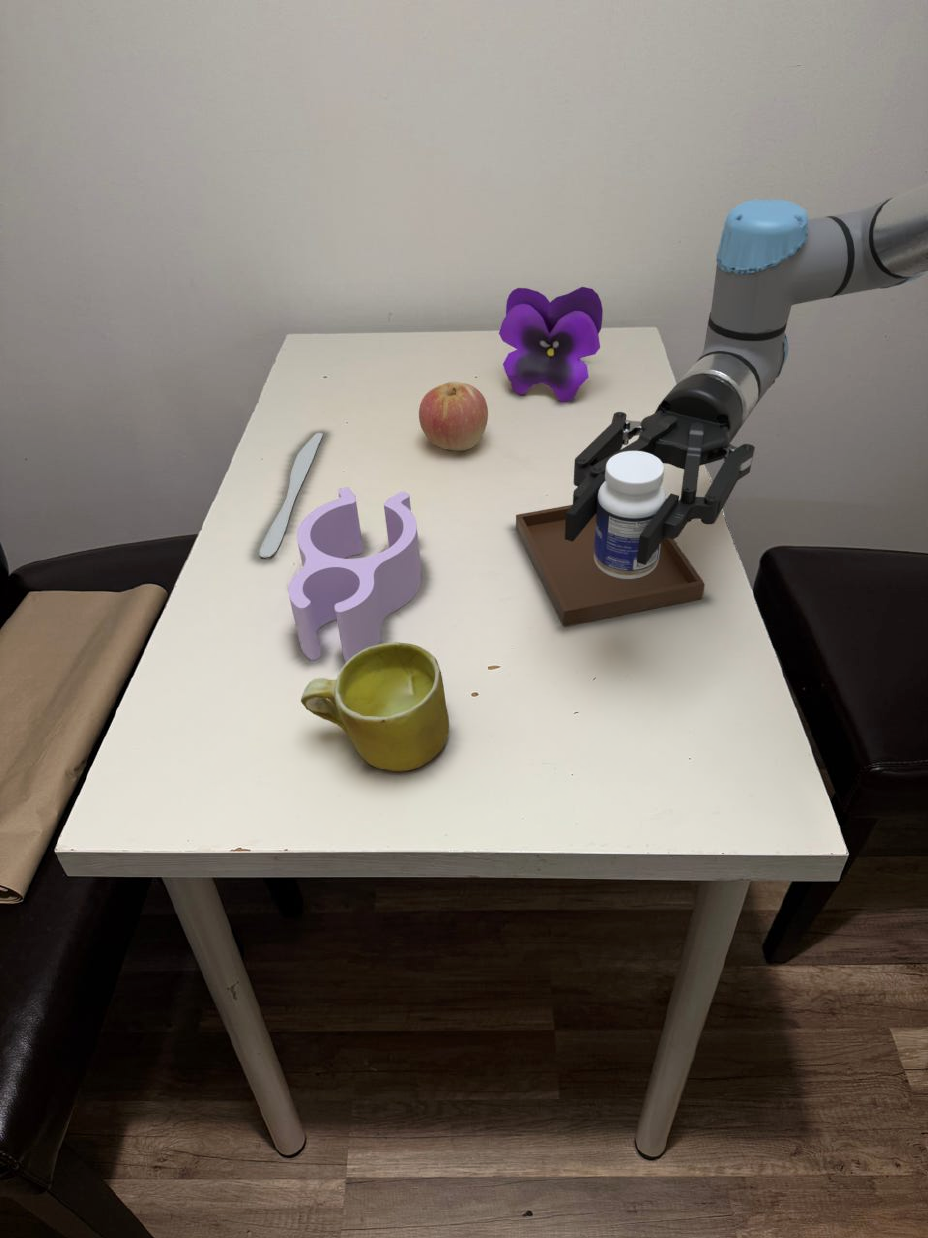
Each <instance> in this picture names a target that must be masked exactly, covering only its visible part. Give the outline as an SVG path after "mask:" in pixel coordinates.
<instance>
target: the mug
mask: <svg viewBox="0 0 928 1238" xmlns="http://www.w3.org/2000/svg"><path fill="white" fill-rule="evenodd" d="M438 662H439V661H438V659H437V658H436V657H435V656H434V655H433V654H432V653H431V652H430V651H428V650H427V649H425V648H423V647H421V646H419V645H416V644H414V643H409V642H401V641H391V642H384V643H379V645H375V646H371V647H368V648H366V649H363V650H362V651H360V652H359V653H357V654H355V655H354V656H353V657H351V658H350V659H349V660H348V661H347V662H346V663H345V662H344V665H343V666H342V667H341V669H340V671H339V673H338V674H337V678H335V679H329V678H325V677H320V678H319V677H318V678H314V679H312V680H311V681H309V682H308V684H307V685H306V687H305V688H304V691H303V692H302V695H301V698H300V703H301V704H302V705H303V706H304V708H305V709H306V710H307V711H309V712H311V713H312V714H313V715H315V716H317V717H319V718H321V719H322V720H325V721H329V722H330V723H333V724H335V725H337V726H338V727H340V728H341V729H342V731H343V732H344V733H345V734H346V735H347V736H348V737H347V738H349V739H350V740H351V741H352V743H353V745H354V748H355V750H356V751H357V752H358V754H359V755H360V756H361V758H362V759H363V760H364V761H365V763H367V764H369V765H371V766H372V767H374V768H377V769H380V770H387V771H391V772H392V771H393V772H406V771H411V770H416V769H418V768H420V767H423V766H425V765H427V764H428V763H429V762H430V761H433V759H434V758H436V756H437V755H439V753H440V752H441V751H442V750H443V749H444V747H445V745H446V743H447V741H448V738H449V734H450V718H449V712H448V707H447V701H446V695H445V686H444V681H443V675H442V671H441V668H440V665H439V663H438Z"/></svg>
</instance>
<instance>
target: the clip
mask: <svg viewBox="0 0 928 1238" xmlns="http://www.w3.org/2000/svg"><path fill="white" fill-rule="evenodd" d="M337 493H338V498H337V499H334V500H331V501H328V502H326V503H324V504H322V505H320V506H318V507H316V508H315V509H313V510H312V511H310V512H309V513H308V514H307V515H306V516H305V517H304V518H303V519H302V520H301V522H300V524H299V526H298V528H297V531H296V543H297V547H298V552H299V557H300V560H301V566H302V567H301V569H300V570H298V571H297V572H296V573H295V574H294V576H293V577H292V578H291V579H290V581H289V584H288V586H287V587H288V588H287V594H288V598H289V603H290V607H291V611H292V616H293V620H294V625H295V628H296V629H295V630H296V633H297V636H298V637H297V638H298V641H299V645H300V650H301V652H302V653H303V655H304V656H305V657H306V658H307V659H309V660H310V661H317V660H318V659H320V657H322V650H321V645H320V641H319V636H318V630H319V629H320V628H321V627H323V626H324V625H326V624H327V623H328V624H329V623H331V622H333V621H336V623H337V630H338V634H339V639H340V645H341V650H342V655H343V661H344V664H345V663H346V662H347V661H348V660H349V659H350V658H351V657H353V656H354V655H355V654H357V653H359V652H360V651H362V650H363V649H366V648H368V647H371V646H375V645H379V644H381V641H382V636H383V635H382V634H383V632H382V624H383V623H384V620H385V619H386V618H387V617H388V616H389V615H391V614H392V613H393V612H395V611H397V610H399V609H402V608H403V607H404V606H405V605H407V604H408V603H410V601H411V600H413V599H414V597H415V596H416V595H417V593H418V592H419V590H420V588H421V585H422V579H423V575H422V574H423V573H422V566H421V565H422V564H421V555H420V545H419V533H418V524H417V523H418V522H417V519H416V516H415V514H414V513H413V512H412V507H411V497H410V496H411V495H410V493H409V492H407V491H400V492H398V493H396V494H394V495H391V496H390V497H389V498H387V499H386V501H384V502H383V510H384V519H385V526H386V534H387V542H388V548H387V549H385V550H383V551H381V552H379V553H376V554H373V555H369V556H365V557H359V558H349V557H352V556H356V555H361V554H362V553H363V552H364V544H363V538H362V531H361V525H360V518H359V517H360V516H359V511H358V510H359V509H358V503H357V498H356V497H357V496H356V494H355V493H354V492H353V490H352V489H351V488H350V487H342V488H340V489H339V490H338V491H337Z"/></svg>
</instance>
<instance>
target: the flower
mask: <svg viewBox="0 0 928 1238" xmlns="http://www.w3.org/2000/svg"><path fill="white" fill-rule="evenodd" d="M603 310H604V309H603V304H602V300H601V298H600V296H599V294H598V292H596V291H595V290H594V289H593V288H591V287H585V286H580V287H579V288H578V287H577V288H576V289H574V290H572V291H570V292H568V293H565V294H562V295H559V296H556V297H555V298H554V299H552V300H551V301H550V300H549V299H548V297H547V296H546V295H545V294H543V293H541V292H539V291H537V290H534V289H531V288H527V287H517V288H515V289H513V290H512V291H511V292H510V293H509V295H508V297H507V300H506V305H505V316H504V318H503V319H502V321H501V325H500V327H499V332H498V335H499V337H500V339H501V341H502V342H503V343H505V344H507V345H509V346H510V347H513V348H514V349H515V350H512V351H511V352H508V353H507V355H506V357H505V359H504V362H503V363H502V366H503V369H504V372H505V375H506V377H507V379H508V380H509V382H510V384H511V387H512V391H513V392H514V393H516V394H517V395H519V396H522V395H524V394H525V393H526V392H527V391H528V390H530V389H531V388H532V387H533V386H536V385H541V384H544V385H545V386H547V387H549V388H550V389H551V391H552V392H553V393H554V395H555V396H556V397H557V399H558V401H559V402H562V403H565V402H569V401H570V402H571V401H573V399H574V398H575V396H576V395H577V393H578V391H579V388H580V387H581V386H582V385H583V384H584V383H585V382H586V381H587V380H588V379H589V369H588V364H587V363H585V361H584V360H582V359H583V358H587V357H591V356H595V355H596V354H597V353H598V351H600V349H601V344H600V343H601V341H600V336H599V335H600V332H601V330H602V326H603V325H602V324H603V315H604V314H603Z"/></svg>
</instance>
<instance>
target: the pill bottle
mask: <svg viewBox="0 0 928 1238" xmlns="http://www.w3.org/2000/svg"><path fill="white" fill-rule="evenodd" d="M664 476H665V466H664V463H662V462H661V460H660V459H659V458H657V457H656V456H654V455H652V454H650V453H646V452H642V451H626V452H621V453H618V454H616V455H614V456H612V457H611V458H610V459H609V460H608V462H607V464H606V471H605V480H606V481H605V482H604V483H603V484H602V485H601V487H600V489H599V492H598V498H597V514H596V528H595V541H594V560H595V563H596V565H597V566H598V567H599V568H600V569H601V570H602V571H603V572H605V573H606V574H608V575H610V576H613V577H616V578H621V579H635V578H640V577H643V576H645V575H647V574H649V573H650V572H652V571H653V570H654V568H655V567H656V566H657V563H658V560H659V554H660V546H661V543H660V545H659V546H658V548H657V549H656V551H655V552H654V553H653V555H652V556H651V558H650V559H649V561H648V562H647V563H646V565H644V564H641V563H638V562H637V555H638V546H639V537H640V534H641V533H642V532H643V530H644V529H645V528H646V526H647V525H648V523H649V522H650V521H651V519H652V518H653V517H654V515H655V514H656V513H657V511H658V510H659V508H660V507H661V506H662V504H663V503H664V502H665V500H666V499H667V494H666V490H665V488H664V487H663V485H662V484H663V483H664Z"/></svg>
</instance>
